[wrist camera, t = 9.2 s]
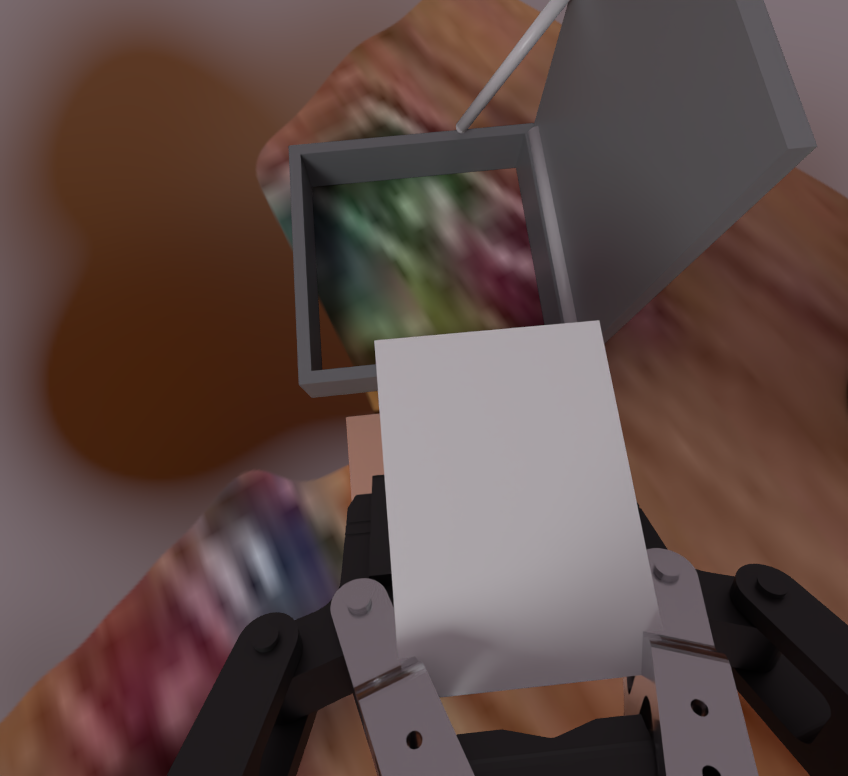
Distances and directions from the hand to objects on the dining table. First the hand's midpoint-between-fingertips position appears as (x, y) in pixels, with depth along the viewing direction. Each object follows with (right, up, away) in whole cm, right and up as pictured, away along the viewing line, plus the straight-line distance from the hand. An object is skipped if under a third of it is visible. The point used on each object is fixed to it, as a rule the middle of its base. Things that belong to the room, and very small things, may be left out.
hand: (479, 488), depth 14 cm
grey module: (0, -1, +4) cm, 4 cm away
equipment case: (-2, +12, +21) cm, 24 cm away
